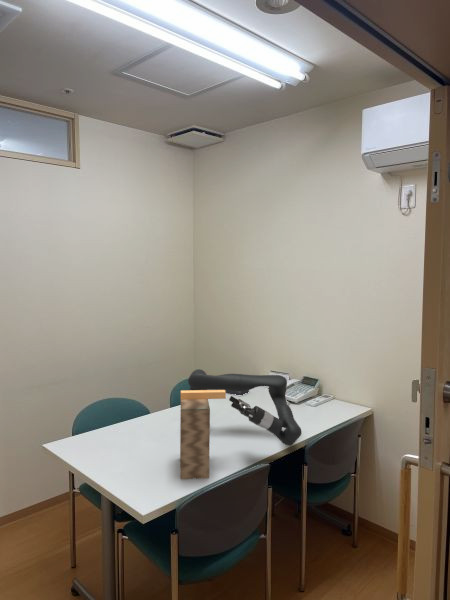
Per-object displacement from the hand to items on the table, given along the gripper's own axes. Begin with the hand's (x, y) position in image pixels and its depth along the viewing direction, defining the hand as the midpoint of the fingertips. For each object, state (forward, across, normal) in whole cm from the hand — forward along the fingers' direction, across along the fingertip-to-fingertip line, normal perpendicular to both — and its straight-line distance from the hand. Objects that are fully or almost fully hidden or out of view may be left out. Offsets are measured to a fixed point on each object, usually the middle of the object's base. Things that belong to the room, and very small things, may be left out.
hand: (231, 400), depth 201 cm
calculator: (-29, -106, +17) cm, 112 cm away
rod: (+12, 0, +5) cm, 13 cm away
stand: (0, +5, +33) cm, 33 cm away
